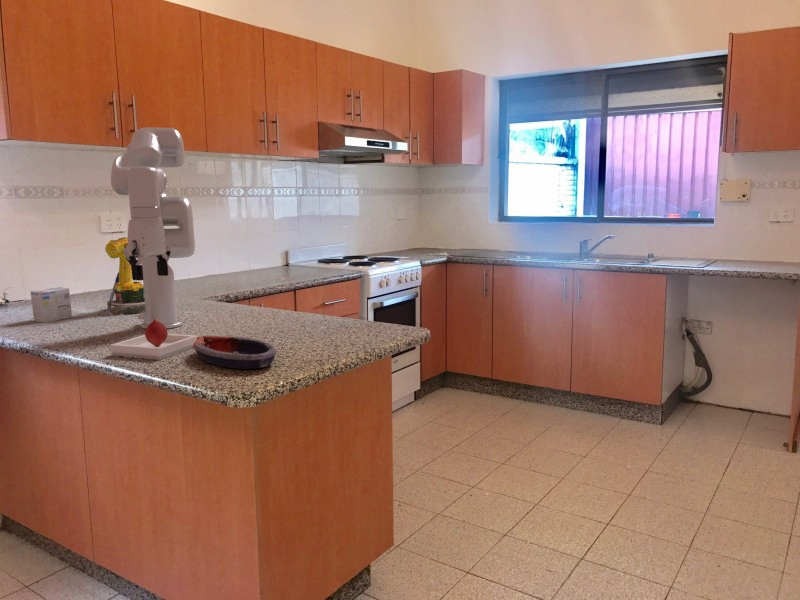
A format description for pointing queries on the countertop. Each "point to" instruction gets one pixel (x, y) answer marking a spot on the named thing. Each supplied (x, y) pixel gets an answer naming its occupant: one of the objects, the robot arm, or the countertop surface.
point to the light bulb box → (51, 304)
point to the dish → (234, 351)
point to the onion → (156, 333)
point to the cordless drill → (124, 283)
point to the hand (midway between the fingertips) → (150, 277)
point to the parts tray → (153, 347)
